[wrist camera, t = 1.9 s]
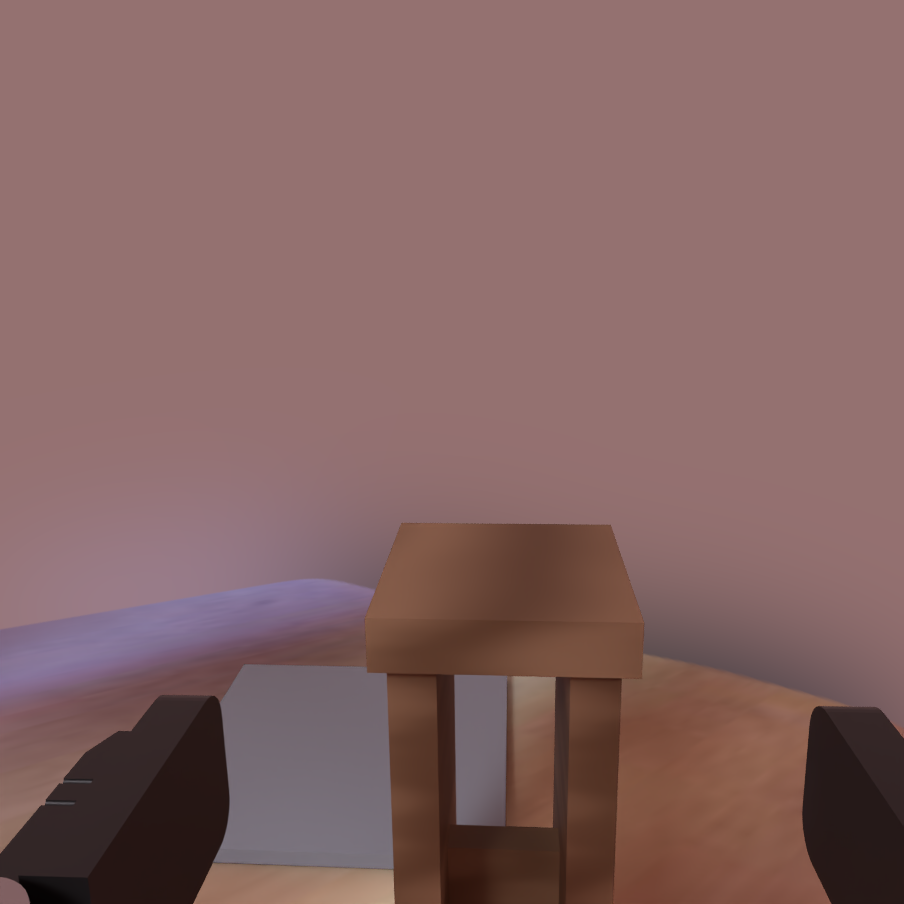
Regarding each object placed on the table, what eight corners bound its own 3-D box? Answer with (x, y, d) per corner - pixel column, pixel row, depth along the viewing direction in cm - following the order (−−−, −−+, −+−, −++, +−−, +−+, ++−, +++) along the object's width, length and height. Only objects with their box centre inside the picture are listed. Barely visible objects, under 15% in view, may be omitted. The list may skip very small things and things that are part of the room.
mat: (132, 859, 32) (130, 845, 32) (245, 674, 46) (244, 664, 45) (504, 873, 31) (504, 859, 31) (507, 680, 45) (507, 669, 44)
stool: (384, 1092, 23) (364, 618, 20) (412, 903, 30) (401, 522, 26) (622, 1105, 23) (644, 622, 19) (597, 910, 29) (610, 524, 26)
